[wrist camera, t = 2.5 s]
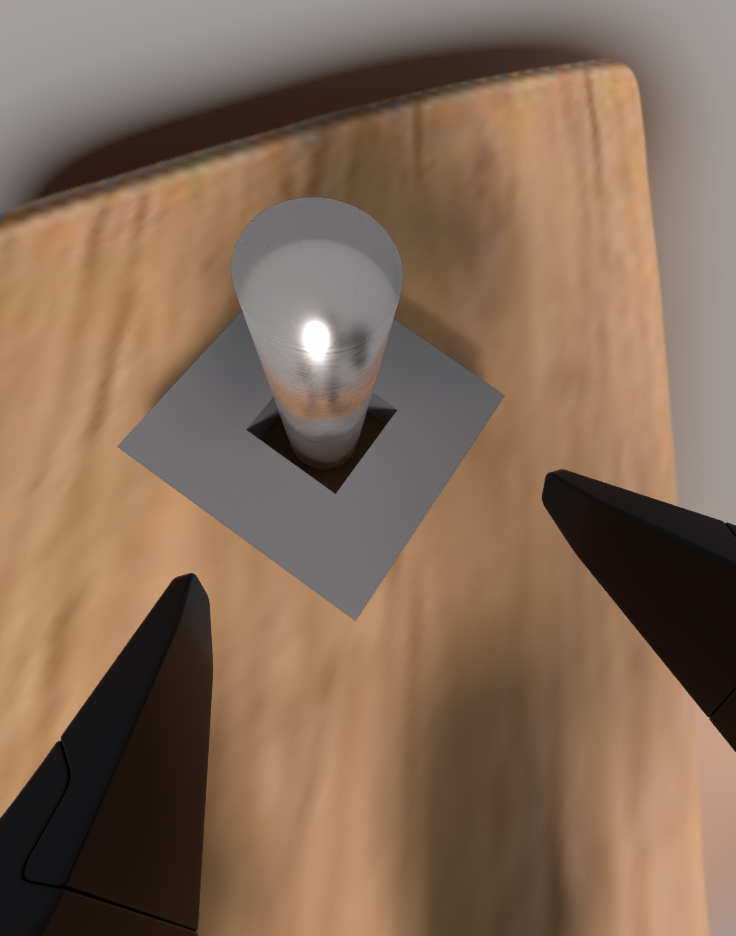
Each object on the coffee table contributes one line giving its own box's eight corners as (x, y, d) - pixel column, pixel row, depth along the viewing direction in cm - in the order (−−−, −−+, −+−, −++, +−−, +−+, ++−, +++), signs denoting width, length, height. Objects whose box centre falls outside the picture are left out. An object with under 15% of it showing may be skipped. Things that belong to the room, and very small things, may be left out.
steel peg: (371, 429, 23) (434, 259, 9) (331, 483, 22) (338, 381, 9) (317, 390, 23) (302, 168, 10) (275, 442, 22) (193, 279, 9)
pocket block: (483, 414, 24) (504, 395, 21) (351, 610, 21) (355, 621, 18) (300, 286, 25) (297, 251, 22) (145, 460, 21) (117, 446, 18)
